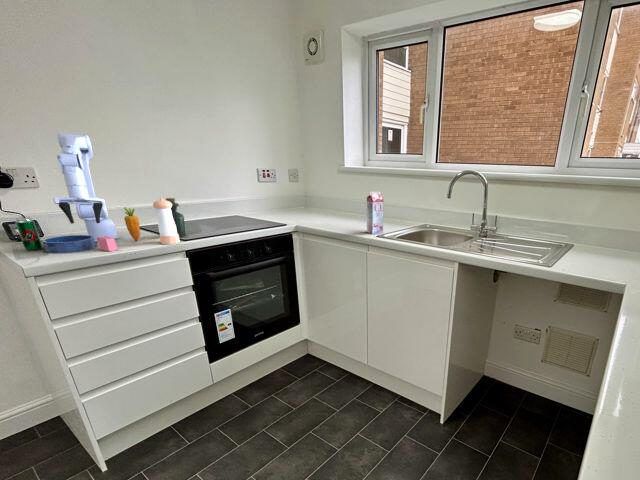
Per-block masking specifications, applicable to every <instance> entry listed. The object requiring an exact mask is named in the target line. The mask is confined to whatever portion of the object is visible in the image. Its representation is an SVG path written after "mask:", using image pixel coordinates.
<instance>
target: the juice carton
mask: <svg viewBox="0 0 640 480" xmlns="http://www.w3.org/2000/svg"><path fill="white" fill-rule="evenodd" d="M366 233H369V234H371V235H375V234H383V233H384V197H383V196H382V193H381V191H369V195H368V196H367V197H366Z"/></svg>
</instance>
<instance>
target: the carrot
mask: <svg viewBox="0 0 640 480" xmlns="http://www.w3.org/2000/svg"><path fill="white" fill-rule="evenodd" d="M123 209H124V210H125V211H124V213H125V214H126V215H125V216H124V222H125V227H126V229H127V231H128V233H129V235H130V236H131V238H132V239H133V240H134V241H135V242H138V241H139V239H140V237H141V225H140V221H139V217H138V216H136V215H134V213H135V210H136V208H128V207H126V206H124V207H123Z"/></svg>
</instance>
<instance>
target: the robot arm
mask: <svg viewBox="0 0 640 480" xmlns="http://www.w3.org/2000/svg"><path fill="white" fill-rule="evenodd" d="M57 141H58V144H59V147H60V149H61V150H60V151H61V152H60V153H59V154H57V155H56V159H57V163H58V165H59V167H60V170H61V173H62V174H63V177H64V182H65V186H66V189H67V190H66V191H67V194H68V197H53V203H54V205H58V207H59V209H60V210H61V211H62V212H63V213H64V214H65V216H66V217H67V219H68V221H69V223H70V224H71V225H72V224H75V221H74V218H73V217H74V216H73V214H72V209H71V205H75V210H76V214H77V216H78V218H79V219H80V220H82V221H84V224H85V228H86V232H87V235H89V236H93V238H94V241H95V243H97V242H98V239H97V237H103V236H107V237H112V238H114V239H115V240H117V239H119V236H118V233H117V231H116V230H117V229H116V226H115V223H114V222H113V220H112V219H111V218H109V213H108V209H107V205H106V201H105V199H104V198H99V197H98V196H96V192H95V187H94V183H93V179H92V174H91V170H90V159H92V158H93V157H94V152H93V148H92V143H91V139H90V137H89V136H88V134H70V133H60V132H59V133H57Z"/></svg>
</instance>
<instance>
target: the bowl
mask: <svg viewBox="0 0 640 480" xmlns="http://www.w3.org/2000/svg"><path fill="white" fill-rule="evenodd" d="M41 243H42V246H43V249H44V250H45V252H46V253H50V254H66V253H77V252H84V251H87V250H92V249H95V248H96V247H97V245H96V242H95V241H94V238H93V236H89V235H88V234H72V235H71V234H70V235H61V236H60V235H59V236H53V237H48V238H45V239H43V240H42V241H41Z"/></svg>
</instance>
